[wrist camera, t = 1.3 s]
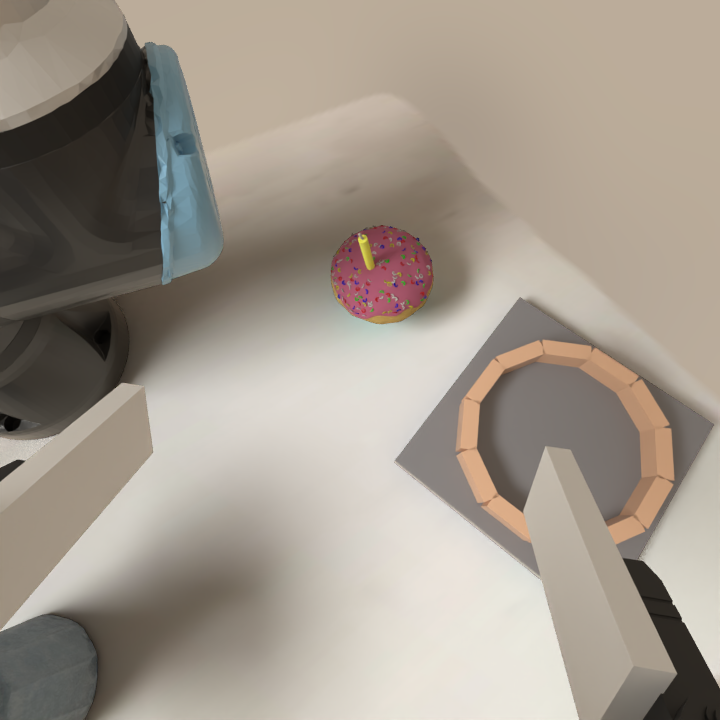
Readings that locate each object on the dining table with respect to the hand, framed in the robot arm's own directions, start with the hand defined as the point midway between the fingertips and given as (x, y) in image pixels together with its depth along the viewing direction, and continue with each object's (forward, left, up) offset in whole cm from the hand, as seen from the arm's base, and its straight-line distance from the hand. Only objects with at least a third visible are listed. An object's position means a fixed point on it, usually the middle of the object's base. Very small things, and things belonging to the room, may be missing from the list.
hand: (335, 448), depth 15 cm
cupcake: (-9, +14, -23) cm, 28 cm away
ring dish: (+10, +12, -23) cm, 28 cm away
